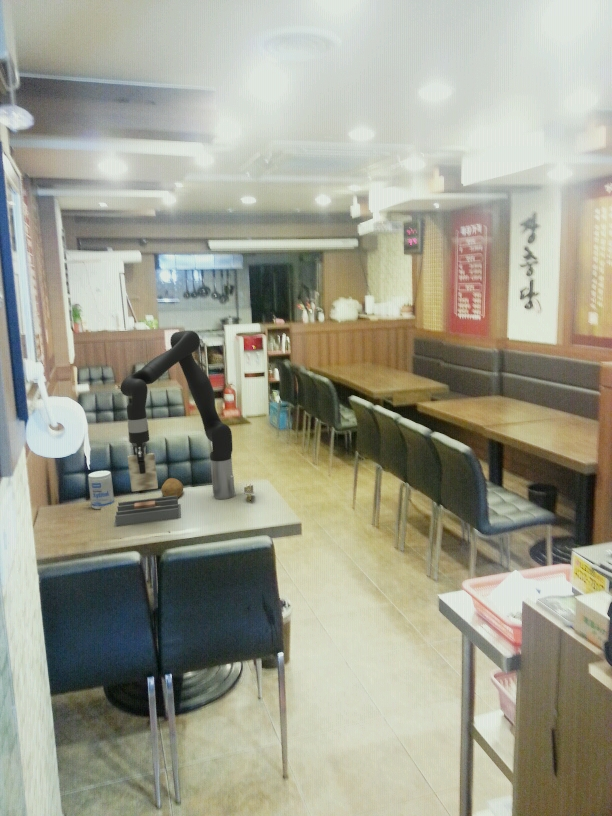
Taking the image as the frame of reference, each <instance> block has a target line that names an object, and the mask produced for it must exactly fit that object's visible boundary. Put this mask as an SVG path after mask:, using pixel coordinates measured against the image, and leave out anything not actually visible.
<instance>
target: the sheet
mask: <svg viewBox="0 0 612 816" xmlns="http://www.w3.org/2000/svg"><path fill="white" fill-rule="evenodd" d="M145 455H146V458H145V470H146V473H144V474H140V470H139V464H138V460H137V458H136V454H133V455H132V454H131V455H127V463H128V472H129V478H130V479H129V480H130V488H131V492H136V491H138V492H139V491H145V490H154V489H158V488H159V485H158V483H159V482H158V477H157V476H158V475H157V467H156V458H155V453H154V452H151V453H150V452H149V453H146V454H145ZM140 461H143V460H140Z"/></svg>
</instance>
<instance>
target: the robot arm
mask: <svg viewBox="0 0 612 816" xmlns="http://www.w3.org/2000/svg"><path fill="white" fill-rule="evenodd" d="M169 341H170V347H171V348H169V349H168V350H166V351H164V352H163V353H161V354H160V355H158V356H156V357H154V358H153V359H151V360H150V361H149V362H147V363H146V364H145V365H143V367H142V368H141V369H139V370H137V371H135V372H134V373H132V374H130V375H128V376H127V377H126V378H124V379H123V380H122V382H121V384H120V392H121V394H122V395H124V396H126V397H131V399H132V400H131V402H130V403H128V404H127V405H126V417H127V430H128V439H129V443H131V444H134V445H135V446H134V452H135V455H136V458H137V460H138V464H139V470H140V474H144V473H146V470H145V458H146V455H145V454H147V453H146V449H147V447H146V444H144V443H147V442H149V441H150V433H149V423H148V417H147V410H146V406H147V405H146V404H147V400H148V392H149V391H148V385H151V384H153V383H155V382H156V381H157V380H158V379H159V378H160V377H162V376H163V375H164V374H165V373H166V372H167V371H168V370H170V369H171V368H172V367H173V366H174V365H176V364H177V363H178V364H179V365H180V368H181V370H182V373H183V375H184V378H185V380H186V383H187V386H188V388H189V391H190V395H191V396H192V399H193V400H194V403H195V406H196V408H197V410H198V413H199V415H200V418H201V421H202V425H203V428H204V432H205V436H206V438H207V439H208V440H209V441H210V442H211V445H212V447H211V448H212V451H211V452H210V453H209V459H210V469H211V470H210V471H211V483H212V495H213V498H214V499H218V500H227V499H230V498H233V497H234V498H235V497H236V492H235V479H234V477H235V476H234V474H233V459H232V453H233V435H232V433H233V432H232V430H231V428H230V426H228V425H227V424H225V423H224V422H222V420H221V419H220V416H219V414H218V412H217V409H216V399H215V398H216V397H215V391H214V387H213V385H212V382H211V379H210V378H209V376H208V374H206V372H205V371H204V370H203V368H201V367H200V366H199V365H198V363H197V361H196V360H195V358H194V356H193V353H194V352H196V351H197V350H198V349H199V348H200V345H201V339H200V336H199V335H198V333H197V332H195V331H193V330H182V331H177V332H174V333H172V335H171V337H170V340H169ZM140 460H143V461H140Z"/></svg>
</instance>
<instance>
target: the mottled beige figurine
mask: <svg viewBox="0 0 612 816" xmlns="http://www.w3.org/2000/svg"><path fill="white" fill-rule="evenodd" d="M243 492H244V494H245V495H246V496H247V497H246V498H247V499H246V500H247V502H249V501H250V500H251V501H250V502H253V501H252V500H253V499H252V496H253V495H254V485H251V483H250V484H249V485H247V484H246V486H243Z"/></svg>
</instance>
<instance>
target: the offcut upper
mask: <svg viewBox="0 0 612 816" xmlns="http://www.w3.org/2000/svg"><path fill="white" fill-rule="evenodd" d="M150 507H156V506H155V501H148V502H140V503H135V505H134V508H135V509H142V508H150Z"/></svg>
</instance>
